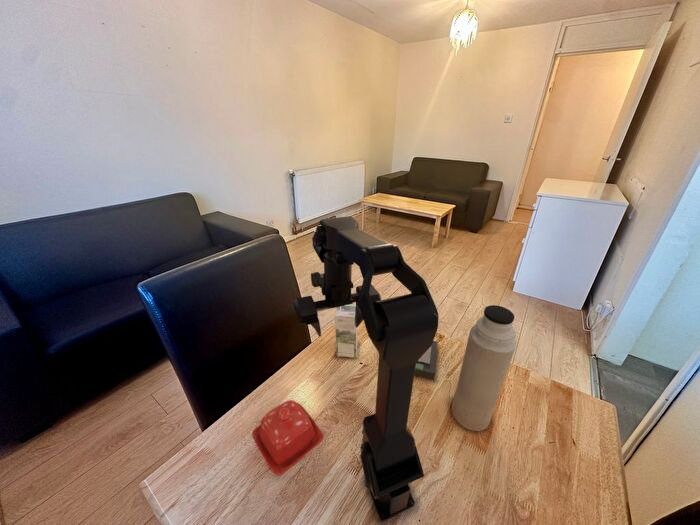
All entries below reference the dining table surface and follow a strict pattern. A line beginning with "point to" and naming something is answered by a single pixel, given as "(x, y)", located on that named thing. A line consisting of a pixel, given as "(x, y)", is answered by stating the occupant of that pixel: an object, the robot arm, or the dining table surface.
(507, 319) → the thermos bottle
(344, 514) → the dining table surface
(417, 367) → the scale
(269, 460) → the butter dish
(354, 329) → the syrup box
